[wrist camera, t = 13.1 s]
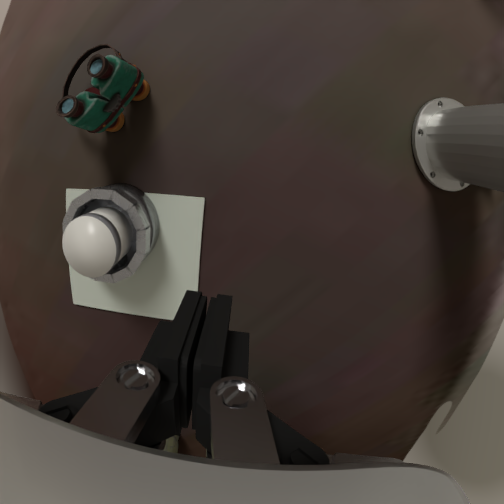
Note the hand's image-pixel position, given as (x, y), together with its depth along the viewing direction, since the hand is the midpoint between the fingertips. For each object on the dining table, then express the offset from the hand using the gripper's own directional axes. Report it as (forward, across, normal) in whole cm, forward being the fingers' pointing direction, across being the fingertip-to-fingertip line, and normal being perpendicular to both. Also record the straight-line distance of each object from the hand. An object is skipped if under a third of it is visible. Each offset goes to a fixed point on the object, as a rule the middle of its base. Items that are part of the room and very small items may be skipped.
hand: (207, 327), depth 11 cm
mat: (+24, +13, +8) cm, 28 cm away
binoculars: (+25, +17, -12) cm, 32 cm away
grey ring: (+24, +14, +4) cm, 28 cm away
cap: (+20, +14, +4) cm, 24 cm away
